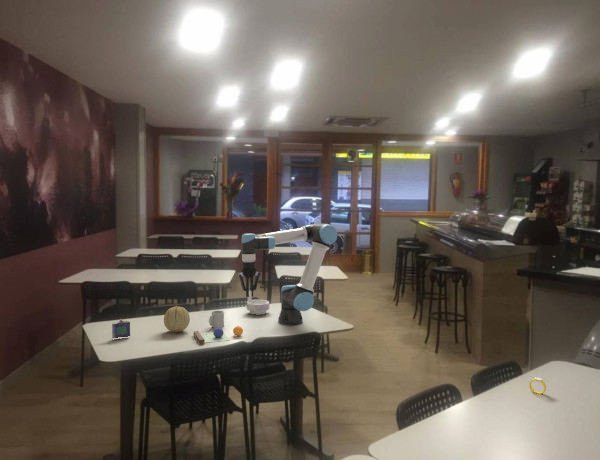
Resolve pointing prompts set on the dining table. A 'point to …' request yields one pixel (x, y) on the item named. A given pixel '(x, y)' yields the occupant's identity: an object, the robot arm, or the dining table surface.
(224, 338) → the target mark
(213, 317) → the cup
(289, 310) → the robot arm
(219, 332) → the navy ball
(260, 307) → the paper bowls
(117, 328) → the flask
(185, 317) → the cantaloupe
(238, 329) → the orange ball
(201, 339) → the backstop rail
